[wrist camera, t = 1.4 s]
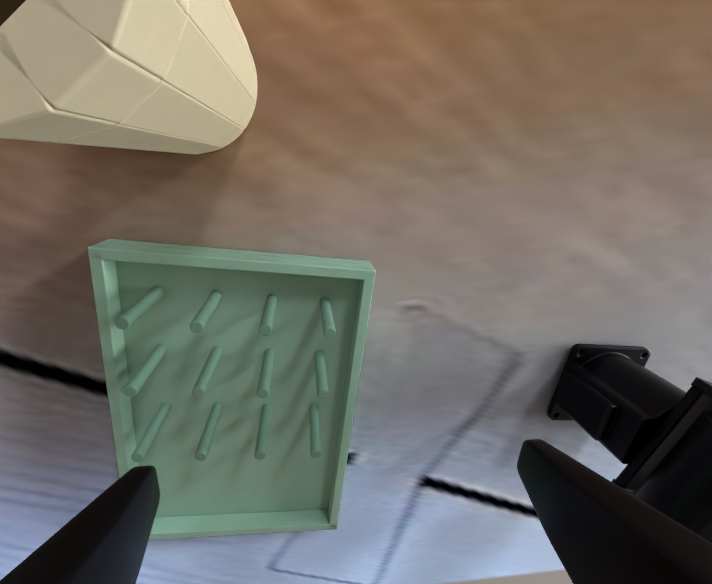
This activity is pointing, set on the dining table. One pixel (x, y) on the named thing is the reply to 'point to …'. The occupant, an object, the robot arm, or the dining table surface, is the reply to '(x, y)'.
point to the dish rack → (232, 380)
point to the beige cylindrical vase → (125, 74)
